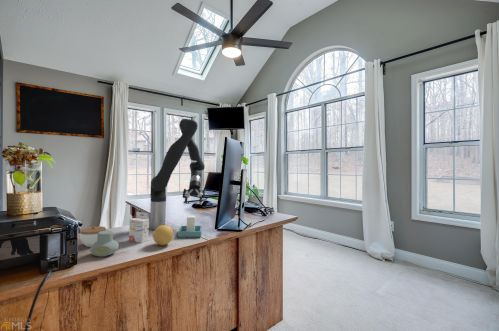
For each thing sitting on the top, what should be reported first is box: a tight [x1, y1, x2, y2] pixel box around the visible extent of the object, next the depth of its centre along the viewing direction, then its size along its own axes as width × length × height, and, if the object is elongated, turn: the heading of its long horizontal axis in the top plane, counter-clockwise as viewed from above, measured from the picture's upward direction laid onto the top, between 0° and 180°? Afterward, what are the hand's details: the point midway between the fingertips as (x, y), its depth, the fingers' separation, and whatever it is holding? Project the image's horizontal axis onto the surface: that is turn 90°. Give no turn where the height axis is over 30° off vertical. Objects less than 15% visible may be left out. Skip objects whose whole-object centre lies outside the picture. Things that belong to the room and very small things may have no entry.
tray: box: [177, 225, 203, 239], centre depth 137 cm, size 13×13×4 cm
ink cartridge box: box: [128, 211, 150, 244], centre depth 123 cm, size 9×5×15 cm, turn 74°
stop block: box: [186, 215, 196, 231], centre depth 138 cm, size 4×4×10 cm
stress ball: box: [152, 224, 174, 246], centre depth 119 cm, size 10×10×10 cm
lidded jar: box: [79, 225, 107, 248], centre depth 115 cm, size 11×11×9 cm
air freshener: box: [89, 229, 120, 258], centre depth 104 cm, size 11×8×10 cm
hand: (193, 202), depth 149 cm, fingers open, 8 cm apart
